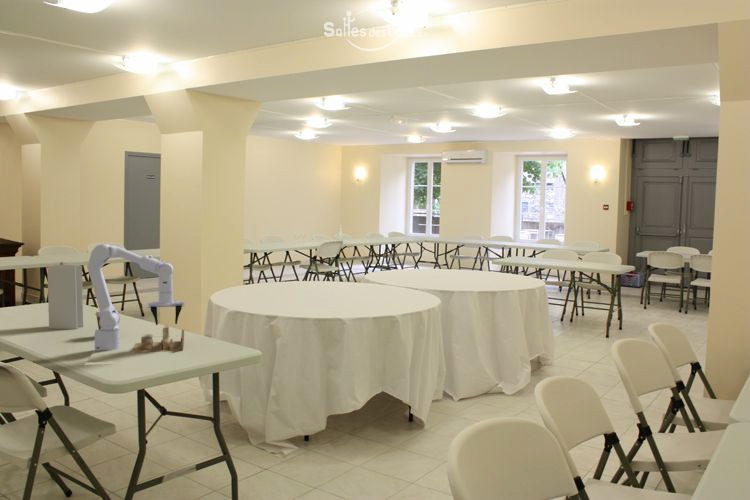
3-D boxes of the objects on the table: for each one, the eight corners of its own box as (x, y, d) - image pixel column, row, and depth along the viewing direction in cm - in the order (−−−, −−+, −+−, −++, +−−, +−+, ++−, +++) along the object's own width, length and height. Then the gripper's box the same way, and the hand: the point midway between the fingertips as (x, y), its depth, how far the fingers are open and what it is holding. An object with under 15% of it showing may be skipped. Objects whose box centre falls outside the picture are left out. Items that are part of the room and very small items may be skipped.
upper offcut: (141, 343, 258) (141, 337, 258) (142, 340, 263) (142, 334, 263) (151, 342, 259) (151, 336, 259) (152, 340, 264) (152, 334, 264)
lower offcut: (141, 349, 258) (141, 343, 258) (142, 345, 265) (142, 339, 264) (151, 349, 259) (151, 343, 259) (152, 345, 266) (152, 339, 265)
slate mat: (148, 344, 272) (148, 343, 272) (150, 337, 284) (150, 336, 284) (177, 342, 275) (177, 341, 275) (178, 336, 287) (178, 335, 287)
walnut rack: (130, 355, 252) (130, 340, 251) (135, 345, 269) (135, 331, 269) (182, 352, 257) (182, 338, 257) (184, 343, 274) (184, 329, 274)
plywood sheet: (162, 349, 259) (162, 330, 258) (164, 343, 268) (164, 325, 268) (168, 349, 259) (167, 329, 259) (169, 343, 269) (169, 325, 268)
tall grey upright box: (83, 326, 307) (82, 265, 305) (77, 329, 301) (75, 266, 299) (56, 325, 308) (54, 265, 306) (49, 328, 303) (47, 266, 300)
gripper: (147, 293, 256) (147, 326, 257) (184, 292, 261) (184, 324, 262) (147, 291, 263) (148, 323, 264) (183, 290, 268) (184, 321, 269)
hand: (166, 324), depth 264 cm, fingers open, 7 cm apart
